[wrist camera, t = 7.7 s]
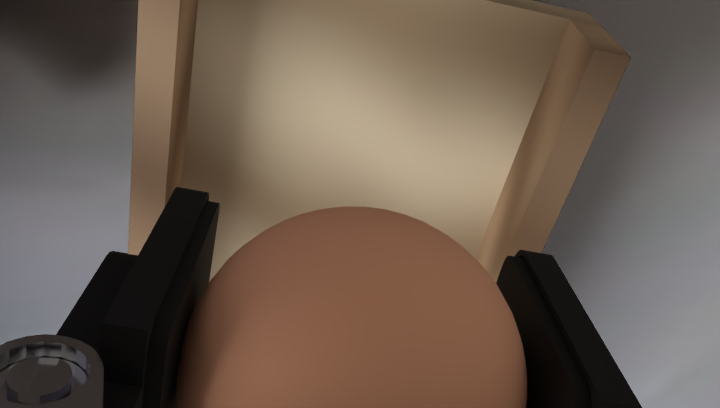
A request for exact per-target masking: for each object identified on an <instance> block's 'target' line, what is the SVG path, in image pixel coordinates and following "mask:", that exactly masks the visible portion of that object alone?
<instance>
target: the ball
mask: <svg viewBox="0 0 720 408" xmlns="http://www.w3.org/2000/svg"><path fill="white" fill-rule="evenodd" d="M176 401H177V408H526V405H527V370H526V361H525V355H524V349H523V344H522V341H521V337H520V334H519V331H518V328H517V325H516V322H515V319H514V316H513V314H512V312H511V310H510V308H509V306H508V304H507V302H506V300H505V299H504V297H503V295H502V293H501V291H500V290H499V288H498V286H497V284H496V283H495V282H494V280H493V279H492V278H491V276H490V275H489V274H488V272H487V271H486V270H485V269H484V267H483V266H482V265H481V264H480V263H479V262H478V261H477V260H476V259H475V258H474V257H473V256H472V255H471V254H470V253H469V252H468V251H467V250H466V249H465V248H464V247H463V246H461V245H460V244H459V243H457V242H456V241H455V240H453V239H452V238H450V237H449V236H448V235H446V234H445V233H443V232H441V231H440V230H438V229H436V228H434V227H432V226H430V225H429V224H427V223H425V222H423V221H421V220H418V219H416V218H413V217H410V216H408V215H405V214H402V213H398V212H394V211H390V210H386V209H379V208H371V207H350V206H343V207H334V208H325V209H320V210H315V211H311V212H307V213H303V214H300V215H297V216H294V217H292V218H289V219H286V220H284V221H282V222H280V223H278V224H276V225H274V226H272V227H270V228H268V229H266V230H265V231H263V232H262V233H260V234H259V235H257V236H256V237H255V238H253V239H252V240H250V241H249V242H247V243H246V244H245V245H243V246H242V247H241V248H240V249H239V250H238V251H236V252H235V253H234V254H233V255H232V256H231V257H230V258H229V259H228V260H227V261H226V262H225V263H224V265H223V266H222V267H221V268H220V270H219V271H218V272H217V273H216V275H215V276H214V277H213V278H212V279H211V281H210V282H209V283H208V285H207V286H206V288H205V290H204V291H203V293H202V295H201V296H200V298H199V300H198V302H197V304H196V306H195V308H194V310H193V312H192V315H191V317H190V320H189V322H188V325H187V329H186V333H185V336H184V340H183V343H182V348H181V353H180V359H179V365H178V371H177V389H176Z"/></svg>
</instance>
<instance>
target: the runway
mask: <svg viewBox="0 0 720 408" xmlns="http://www.w3.org/2000/svg"><path fill="white" fill-rule="evenodd" d="M630 58H631V57H630V56H629V55H628V54H627V53H626V52H625V51H624V50H623V49H622V47H621V46H620V45H619V44H618V43H617V42H616V41H615V40H614V39H613V38H612V37H611V36H610V35H609V34H608V33H607V32H606V31H605V30H604V28H603V27H602V26H601V25H600V24H599V23H598V22H597V21H596V20H595V19H594V18H593V17H592V16H591V15H590V14H589V13H585V12H580V11H576V10H572V9H567V8H563V7H558V6H554V5H550V4H545V3H541V2H537V1H532V0H138V24H137V49H136V73H135V98H134V122H133V147H132V172H131V196H130V221H129V246H128V254H132V255H139V253H140V251H141V249H142V248H143V246H144V244H145V242H146V240H147V239H148V237H149V235H150V233H151V231H152V229H153V228H154V226H155V224H156V222H157V220H158V219H159V217H160V215H161V213H162V211H163V209H164V208H165V206H166V204H167V202H168V200H169V199H170V197H171V195H172V193H173V191H174V189H175V188H176V187H181V188H186V189H192V190H197V191H203V192H208V193H209V201H211V202H217V203H220V209H219V216H218V223H217V230H216V237H215V244H214V251H213V258H212V265H211V272H210V279H209V282H210V281H211V279H212V278H213V277H214V276H215V275H216V273H217V272H218V271H219V270H220V268H221V267H222V266H223V265H224V263H225V262H226V261H227V260H228V259H229V258H230V257H231V256H232V255H233V254H234V253H235V252H236V251H238V250H239V249H240V248H241V247H242V246H243V245H245V244H246V243H247V242H249V241H250V240H252V239H253V238H255V237H256V236H257V235H259V234H260V233H262V232H263V231H265V230H266V229H268V228H270V227H272V226H274V225H276V224H278V223H280V222H282V221H284V220H286V219H289V218H292V217H294V216H297V215H300V214H303V213H307V212H311V211H315V210H320V209H325V208H334V207H343V206H350V207H371V208H379V209H386V210H390V211H394V212H398V213H402V214H405V215H408V216H410V217H413V218H416V219H418V220H421V221H423V222H425V223H427V224H429V225H430V226H432V227H434V228H436V229H438V230H440V231H441V232H443V233H445V234H446V235H448V236H449V237H450V238H452V239H453V240H455V241H456V242H457V243H459V244H460V245H461V246H463V247H464V248H465V249H466V250H467V251H468V252H469V253H470V254H471V255H472V256H473V257H474V258H475V259H476V260H477V261H478V262H479V263H480V264H481V265H482V266H483V267H484V269H485V270H486V271H487V272H488V274H489V275H490V276H491V278H492V279H493V280H494V282H495V283H496V282H497V279H498V276H499V273H500V271H501V268H502V265H503V262H504V260H505V259H506V257H507V256H515V255H516V254H517V252H518V251H520V250H526V251H531V252H537V253H542V250H543V248H544V246H545V244H546V242H547V240H548V237H549V235H550V233H551V231H552V229H553V226H554V224H555V222H556V220H557V218H558V216H559V213H560V211H561V209H562V207H563V205H564V202H565V200H566V198H567V196H568V194H569V192H570V189H571V187H572V185H573V183H574V181H575V178H576V176H577V174H578V172H579V170H580V168H581V165H582V163H583V161H584V159H585V157H586V154H587V152H588V150H589V148H590V146H591V144H592V141H593V139H594V137H595V135H596V133H597V130H598V128H599V126H600V124H601V122H602V120H603V117H604V115H605V113H606V111H607V109H608V106H609V104H610V102H611V100H612V98H613V96H614V93H615V91H616V89H617V87H618V85H619V82H620V80H621V78H622V76H623V74H624V72H625V69H626V67H627V65H628V63H629V61H630Z"/></svg>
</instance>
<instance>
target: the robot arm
mask: <svg viewBox="0 0 720 408" xmlns="http://www.w3.org/2000/svg"><path fill="white" fill-rule="evenodd" d="M219 209H220V203H217V202H211V201H209V193H208V192H203V191H197V190H192V189H186V188H181V187H176V188H175V189H174V191H173V193H172V195H171V197H170V199H169V200H168V202H167V204H166V206H165V208H164V209H163V211H162V213H161V215H160V217H159V219H158V220H157V222H156V224H155V226H154V228H153V229H152V231H151V233H150V235H149V237H148V239H147V240H146V242H145V244H144V246H143V248H142V249H141V251H140V253H139V255H132V254H127V253H121V252H115V251H112V252H109V254H108V255H107V256H106V257H105V259H104V261H103V262H102V264H101V265H100V267H99V268H98V270H97V272H96V273H95V275H94V276H93V278H92V279H91V281H90V283H89V284H88V286H87V287H86V289H85V290H84V292H83V294H82V295H81V297H80V298H79V300H78V301H77V303H76V305H75V306H74V308H73V309H72V311H71V312H70V314H69V316H68V317H67V319H66V320H65V322H64V323H63V325H62V327H61V328H60V330H59V331H58V333H57V334H56V335H46V334H45V335H35V336H26V337H22V338H19V339H15V340H12V341H8V342H6V343H4V344H2V345H0V408H177V401H176V389H177V371H178V365H179V359H180V353H181V348H182V343H183V340H184V336H185V333H186V329H187V325H188V322H189V320H190V317H191V315H192V312H193V310H194V308H195V306H196V304H197V302H198V300H199V298H200V296H201V295H202V293H203V291H204V290H205V288H206V286H207V285H208V283H209V279H210V272H211V265H212V258H213V251H214V244H215V237H216V230H217V223H218V216H219ZM496 284H497V286H498V288H499V290H500V291H501V293H502V295H503V297H504V299H505V300H506V302H507V304H508V306H509V308H510V310H511V312H512V314H513V316H514V319H515V322H516V325H517V328H518V331H519V334H520V337H521V341H522V344H523V349H524V355H525V361H526V370H527V405H526V408H642V407H641V405H640V403H639V402H638V400H637V398H636V397H635V395H634V393H633V391H632V390H631V388H630V386H629V385H628V383H627V381H626V380H625V378H624V376H623V374H622V373H621V371H620V369H619V368H618V366H617V364H616V363H615V361H614V359H613V357H612V356H611V354H610V352H609V351H608V349H607V347H606V346H605V344H604V342H603V340H602V339H601V337H600V335H599V334H598V332H597V330H596V329H595V327H594V325H593V323H592V322H591V320H590V318H589V317H588V315H587V313H586V312H585V310H584V308H583V306H582V305H581V303H580V301H579V300H578V298H577V296H576V295H575V293H574V291H573V289H572V288H571V286H570V284H569V283H568V281H567V279H566V278H565V276H564V274H563V272H562V271H561V269H560V267H559V266H558V264H557V262H556V261H555V259H554V257H553V256H552V255H548V254H542V253H537V252H531V251H526V250H520V251H518V252H517V254H516V255H515V256H507V257H506V259H505V260H504V262H503V265H502V268H501V271H500V273H499V276H498V279H497V282H496Z"/></svg>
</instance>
